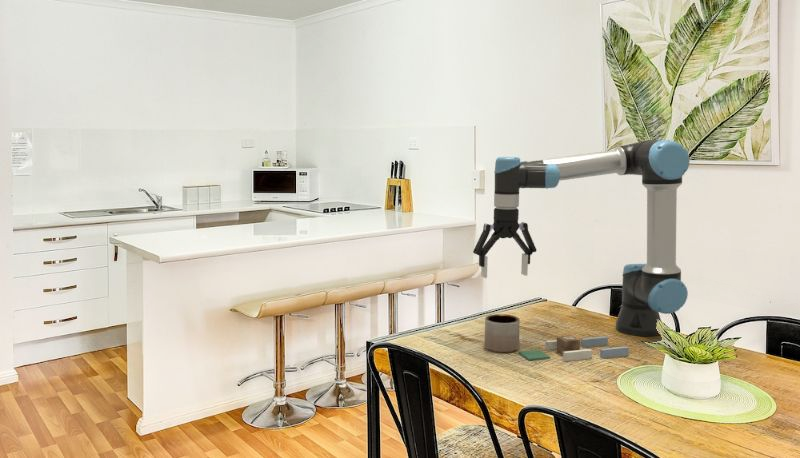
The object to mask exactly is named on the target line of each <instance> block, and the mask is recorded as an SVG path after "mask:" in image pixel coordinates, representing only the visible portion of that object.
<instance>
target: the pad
mask: <svg viewBox="0 0 800 458" xmlns="http://www.w3.org/2000/svg"><path fill="white" fill-rule="evenodd" d="M517 354H518V355H519V356H521V357H522V358H524V359H525V360H527V361H531V362H532V361H533V362H534V361H539V360H540V361H541V360H542V361H543V360H550V359H551V356H550V355H548V354H546V352H543V351H542V350H540V349H532V350H521V351H518V353H517Z"/></svg>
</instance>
